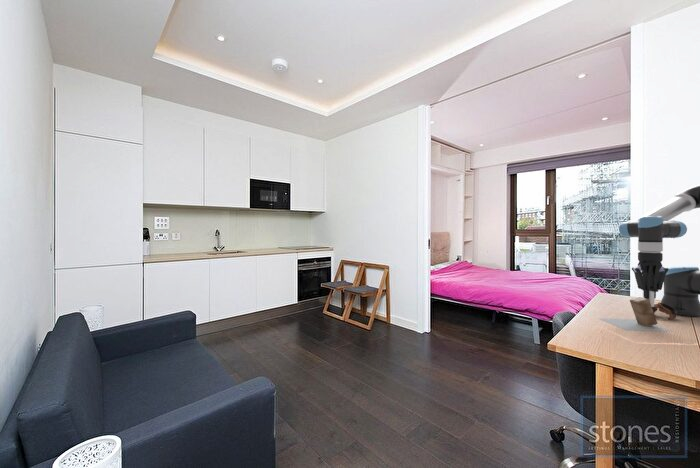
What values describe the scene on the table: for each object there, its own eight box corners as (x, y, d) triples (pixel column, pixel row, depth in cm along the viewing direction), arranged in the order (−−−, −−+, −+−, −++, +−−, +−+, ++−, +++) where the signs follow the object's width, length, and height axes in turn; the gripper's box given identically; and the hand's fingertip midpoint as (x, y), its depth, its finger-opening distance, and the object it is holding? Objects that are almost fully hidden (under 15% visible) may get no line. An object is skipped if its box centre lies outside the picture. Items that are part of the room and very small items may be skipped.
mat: (640, 320, 138) (640, 319, 138) (673, 332, 122) (673, 331, 122) (598, 319, 140) (598, 318, 140) (625, 331, 124) (625, 330, 124)
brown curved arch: (655, 315, 147) (667, 302, 143) (672, 329, 139) (686, 316, 135) (633, 309, 146) (645, 297, 142) (649, 323, 138) (662, 310, 134)
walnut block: (648, 320, 131) (640, 296, 131) (657, 323, 127) (649, 299, 127) (637, 323, 132) (629, 299, 132) (646, 326, 127) (637, 302, 127)
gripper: (658, 251, 131) (658, 304, 132) (626, 251, 133) (626, 303, 133) (675, 252, 124) (674, 308, 124) (640, 252, 125) (640, 307, 126)
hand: (649, 305), depth 129 cm, fingers closed
